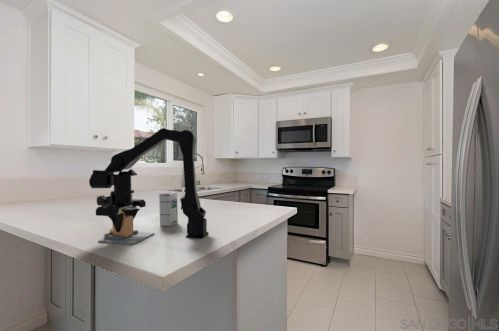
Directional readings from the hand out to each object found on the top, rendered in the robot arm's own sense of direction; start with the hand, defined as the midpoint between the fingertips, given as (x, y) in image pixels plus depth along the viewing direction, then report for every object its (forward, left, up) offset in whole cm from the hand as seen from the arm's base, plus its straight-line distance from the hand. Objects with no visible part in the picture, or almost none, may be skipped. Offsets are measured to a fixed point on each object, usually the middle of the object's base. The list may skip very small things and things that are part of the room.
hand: (123, 230), depth 87 cm
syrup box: (-6, -21, -3) cm, 22 cm away
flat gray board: (-2, 0, -3) cm, 4 cm away
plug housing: (0, 0, -2) cm, 2 cm away
